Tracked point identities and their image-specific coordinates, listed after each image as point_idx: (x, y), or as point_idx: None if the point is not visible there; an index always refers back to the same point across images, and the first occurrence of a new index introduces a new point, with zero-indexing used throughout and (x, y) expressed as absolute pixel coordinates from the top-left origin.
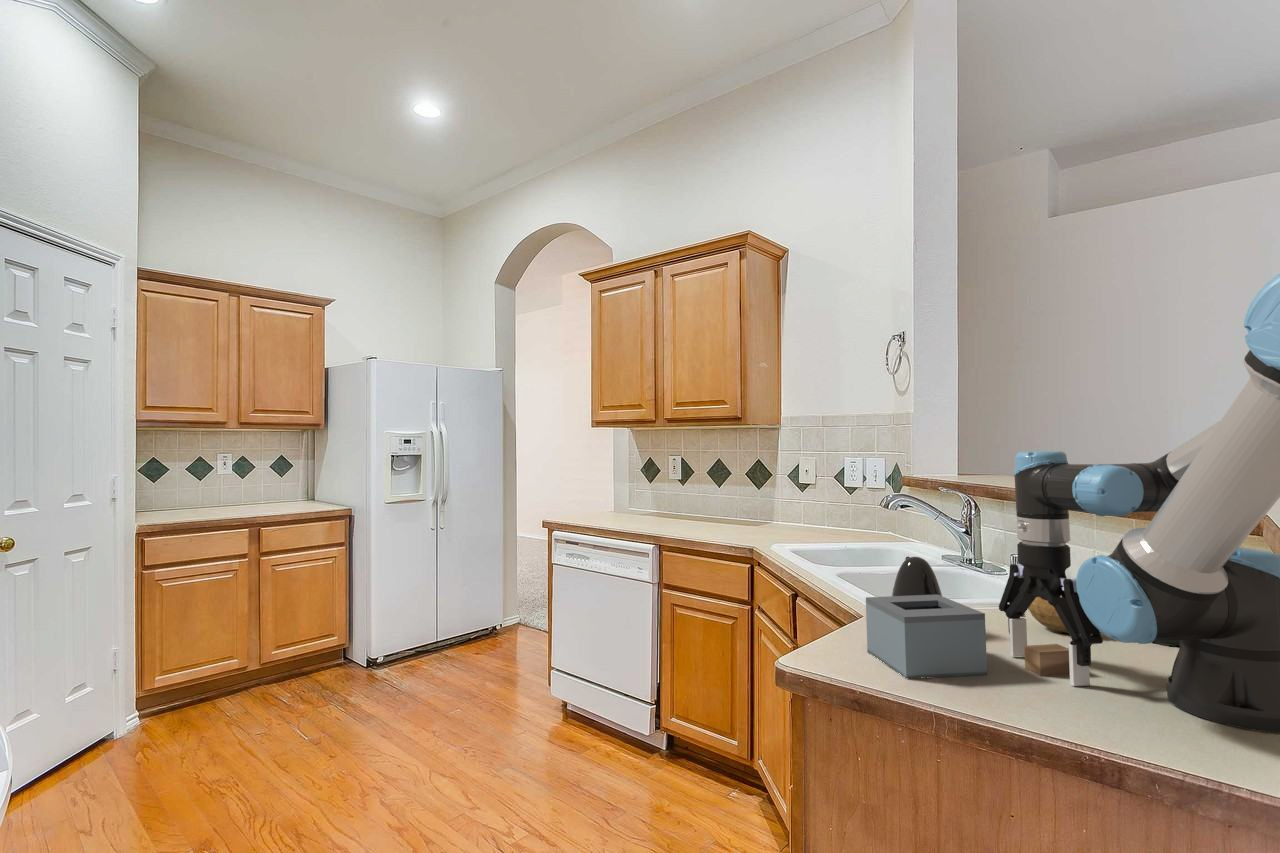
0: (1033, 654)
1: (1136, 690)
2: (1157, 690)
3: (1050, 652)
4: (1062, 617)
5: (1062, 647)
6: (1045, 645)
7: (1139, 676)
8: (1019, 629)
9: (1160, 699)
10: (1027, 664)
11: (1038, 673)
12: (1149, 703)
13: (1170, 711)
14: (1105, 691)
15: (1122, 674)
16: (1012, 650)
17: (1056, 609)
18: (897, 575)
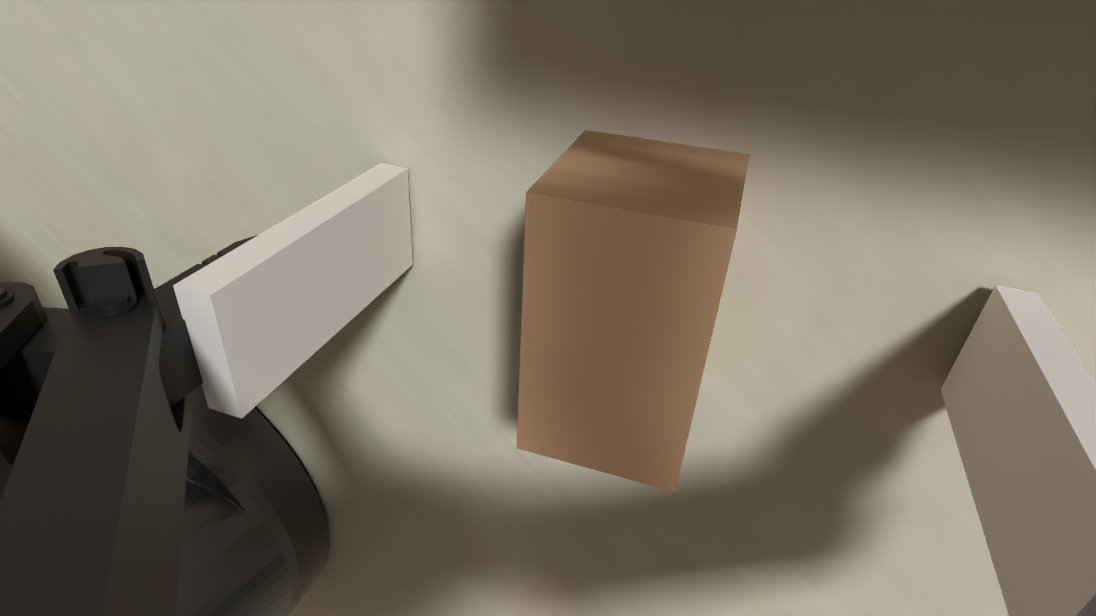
0: (615, 188)
1: (334, 388)
2: (333, 451)
3: (525, 287)
4: (76, 484)
5: (590, 449)
6: (672, 395)
7: (478, 543)
8: (1034, 509)
9: None
10: (713, 162)
11: (603, 137)
12: None
13: None
14: None
15: (512, 518)
16: (1018, 312)
17: (77, 589)
18: None
